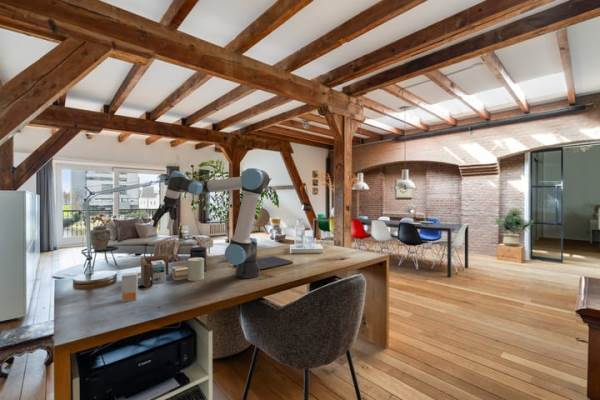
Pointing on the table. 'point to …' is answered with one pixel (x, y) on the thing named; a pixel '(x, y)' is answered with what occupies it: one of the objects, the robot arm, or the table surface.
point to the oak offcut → (179, 276)
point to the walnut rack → (147, 267)
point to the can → (195, 269)
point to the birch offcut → (180, 270)
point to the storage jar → (199, 254)
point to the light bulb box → (158, 271)
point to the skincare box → (129, 287)
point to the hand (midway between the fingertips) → (161, 230)
